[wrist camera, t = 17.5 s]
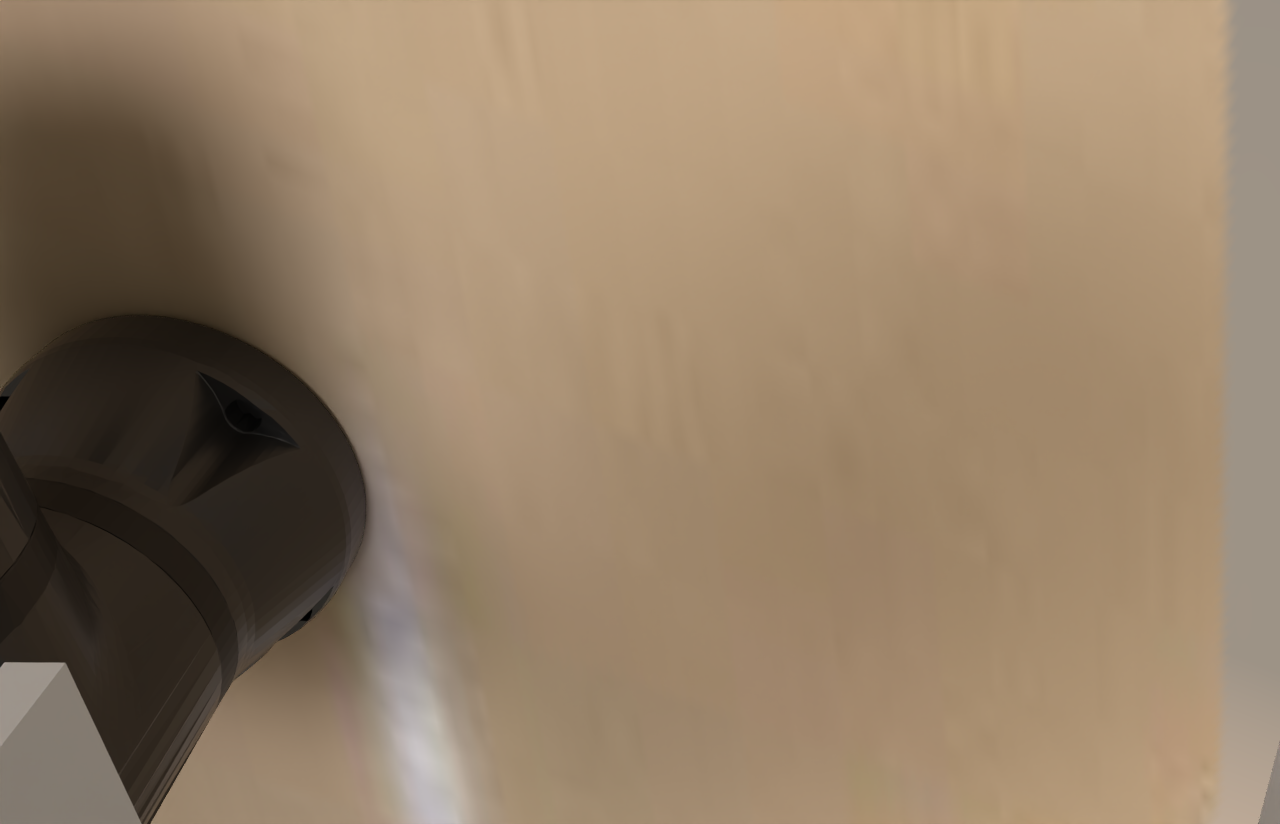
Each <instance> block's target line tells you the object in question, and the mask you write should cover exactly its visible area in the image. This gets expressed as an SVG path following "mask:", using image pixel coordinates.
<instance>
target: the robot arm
mask: <svg viewBox="0 0 1280 824" xmlns="http://www.w3.org/2000/svg"><path fill="white" fill-rule="evenodd" d="M365 520H366V501H365V492H364V486H363V481H362V477H361V473H360V470H359V467H358V464H357V461H356V459H355V456H354V454H353V452H352V450H351V447H350V445H349V444H348V442H347V440H346V438H345V436H344V434H343V433H342V431H341V429H340V428H339V426H338V425H337V423H336V422H335V420H334V419H333V418H332V416H331V415H330V413H329V412H328V411H327V410H326V408H325V407H324V406H323V405H322V403H321V402H320V401H319V400H318V399H317V398H316V397H315V396H314V395H313V394H312V392H311V391H310V390H308V389H307V388H306V387H305V386H304V385H303V384H302V383H301V382H300V381H299V380H298V379H297V378H295V377H294V376H293V375H292V374H291V373H290V372H288V371H287V370H286V369H284V368H283V367H282V366H281V365H279V364H278V363H277V362H275V361H274V360H272V359H271V358H269V357H268V356H266V355H265V354H263V353H261V352H260V351H258V350H256V349H255V348H253V347H251V346H249V345H247V344H245V343H243V342H242V341H240V340H238V339H235V338H233V337H231V336H229V335H226V334H224V333H222V332H219V331H216V330H214V329H211V328H208V327H205V326H202V325H198V324H195V323H191V322H187V321H183V320H178V319H172V318H166V317H157V316H120V317H112V318H106V319H101V320H97V321H94V322H90V323H87V324H84V325H82V326H79V327H76V328H74V329H72V330H70V331H68V332H66V333H65V334H63V335H61V336H60V337H58V338H57V339H55V340H54V341H53V342H51V343H50V344H49V345H47V346H46V347H45V348H44V349H43V350H41V351H40V352H39V353H38V354H37V355H35V356H34V357H33V358H32V359H31V360H29V361H28V362H27V363H26V364H24V365H23V366H22V367H21V368H20V369H19V370H18V371H17V372H16V373H15V374H14V375H13V376H12V377H11V378H10V379H9V381H8V382H7V383H6V384H5V385H4V387H3V388H2V389H1V391H0V824H150V823H151V821H152V820H153V818H154V816H155V814H156V813H157V811H158V809H159V807H160V806H161V804H162V802H163V800H164V799H165V797H166V795H167V794H168V792H169V790H170V788H171V787H172V785H173V783H174V781H175V780H176V778H177V776H178V774H179V773H180V771H181V769H182V767H183V766H184V764H185V762H186V760H187V759H188V757H189V755H190V754H191V752H192V750H193V748H194V747H195V745H196V743H197V741H198V740H199V738H200V736H201V734H202V733H203V731H204V729H205V727H206V726H207V724H208V722H209V720H210V719H211V717H212V715H213V713H214V712H215V710H216V708H217V707H218V705H219V703H220V702H221V700H222V698H223V697H224V695H225V693H226V692H227V690H228V688H229V687H230V685H231V683H232V682H233V681H234V680H235V679H236V678H238V677H239V676H240V675H241V674H243V673H244V672H245V671H246V670H248V669H249V668H250V667H251V666H253V665H254V664H255V663H256V662H257V661H258V660H259V659H261V658H262V657H263V656H264V655H265V654H266V653H267V652H268V651H269V649H270V648H271V647H272V646H273V645H274V644H275V643H276V642H277V641H279V640H282V639H284V638H286V637H288V636H289V635H291V634H293V633H294V632H296V631H298V630H299V629H301V628H302V627H303V626H304V625H306V624H307V623H308V622H309V621H311V620H312V619H313V618H314V617H315V616H316V615H317V614H318V613H319V612H321V610H322V609H323V608H324V607H325V606H326V604H327V603H328V602H329V601H330V600H331V598H332V597H333V596H334V594H335V593H336V591H337V589H338V588H339V586H340V584H341V582H342V580H343V578H344V577H345V575H346V573H347V571H348V569H349V567H350V566H351V564H352V562H353V560H354V558H355V556H356V554H357V552H358V550H359V547H360V544H361V541H362V538H363V533H364V528H365ZM1258 824H1280V742H1279V746H1278V750H1277V754H1276V758H1275V761H1274V766H1273V769H1272V773H1271V777H1270V781H1269V784H1268V788H1267V792H1266V796H1265V800H1264V804H1263V807H1262V811H1261V815H1260V819H1259V823H1258Z"/></svg>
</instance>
